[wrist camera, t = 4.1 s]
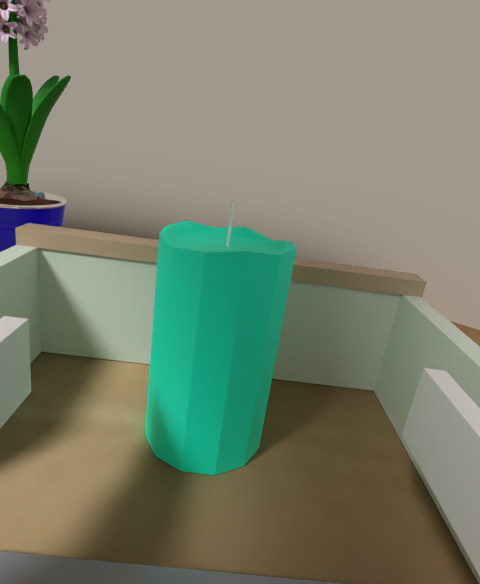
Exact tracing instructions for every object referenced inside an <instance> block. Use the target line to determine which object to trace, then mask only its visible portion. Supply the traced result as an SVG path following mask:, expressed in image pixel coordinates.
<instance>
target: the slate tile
mask: <svg viewBox="0 0 480 584" xmlns="http://www.w3.org/2000/svg"><path fill="white" fill-rule="evenodd" d="M0 584H344V583H333V582H323V581H312V580H301V579H291V578H280V577H269V576H258V575H248V574H237V573H226V572H216V571H205V570H194V569H184V568H173V567H162V566H152V565H141V564H130V563H120V562H109V561H98V560H87V559H77V558H66V557H55V556H45V555H34V554H23V553H13V552H2V551H0Z"/></svg>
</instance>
